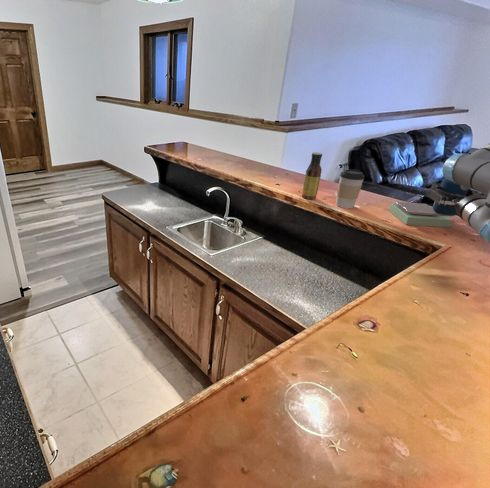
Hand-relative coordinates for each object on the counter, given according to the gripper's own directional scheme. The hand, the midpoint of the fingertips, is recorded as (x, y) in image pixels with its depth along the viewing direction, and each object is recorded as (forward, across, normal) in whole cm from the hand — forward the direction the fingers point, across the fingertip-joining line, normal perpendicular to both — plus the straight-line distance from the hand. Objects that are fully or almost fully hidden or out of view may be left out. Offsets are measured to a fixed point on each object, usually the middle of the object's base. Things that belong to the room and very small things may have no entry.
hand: (446, 187), depth 112 cm
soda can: (-5, 0, -7) cm, 9 cm away
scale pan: (+18, +1, -14) cm, 23 cm away
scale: (+19, +2, -18) cm, 26 cm away
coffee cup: (+24, -24, -18) cm, 38 cm away
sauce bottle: (+30, -38, -18) cm, 51 cm away
